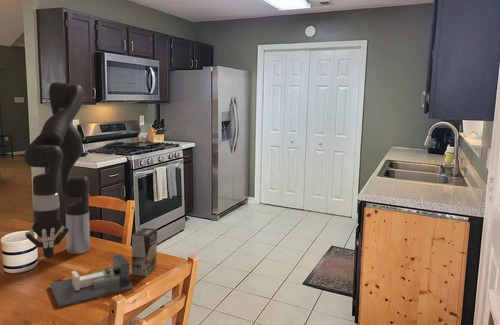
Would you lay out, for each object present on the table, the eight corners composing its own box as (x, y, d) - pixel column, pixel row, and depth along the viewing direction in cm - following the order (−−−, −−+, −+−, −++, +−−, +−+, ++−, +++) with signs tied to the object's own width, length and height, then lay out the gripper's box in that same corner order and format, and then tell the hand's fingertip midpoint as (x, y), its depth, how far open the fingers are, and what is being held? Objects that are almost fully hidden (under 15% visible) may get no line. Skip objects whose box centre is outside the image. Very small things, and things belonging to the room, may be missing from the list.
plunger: (71, 284, 134) (71, 271, 133) (110, 275, 142) (110, 263, 141) (75, 290, 130) (75, 277, 129) (115, 281, 138) (115, 268, 137)
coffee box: (146, 276, 146) (147, 236, 144) (131, 274, 147) (131, 234, 145) (157, 266, 155) (157, 229, 153) (142, 265, 156) (142, 227, 154)
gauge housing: (49, 287, 135) (49, 264, 134) (118, 271, 149) (118, 251, 148) (58, 307, 122) (57, 282, 121) (132, 288, 136) (132, 266, 135)
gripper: (66, 201, 130) (67, 249, 133) (21, 206, 122) (23, 257, 125) (71, 207, 124) (72, 257, 127) (24, 212, 116) (26, 266, 119)
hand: (48, 257), depth 126 cm, fingers closed
